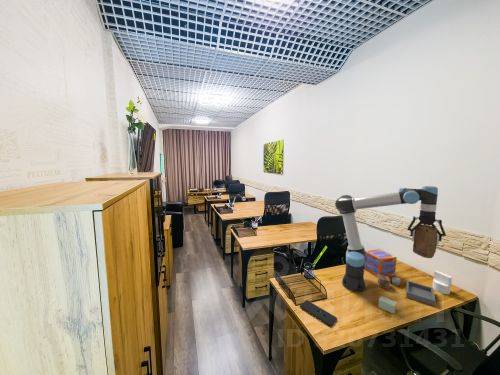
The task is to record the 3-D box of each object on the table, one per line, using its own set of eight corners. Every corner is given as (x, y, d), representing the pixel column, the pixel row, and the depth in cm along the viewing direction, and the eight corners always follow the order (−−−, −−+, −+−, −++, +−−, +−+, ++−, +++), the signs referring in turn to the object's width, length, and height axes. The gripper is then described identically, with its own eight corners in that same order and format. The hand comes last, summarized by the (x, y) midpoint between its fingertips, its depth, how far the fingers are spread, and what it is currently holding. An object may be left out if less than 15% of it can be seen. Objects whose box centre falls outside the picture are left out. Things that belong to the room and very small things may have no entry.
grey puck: (393, 285, 144) (393, 280, 144) (390, 281, 149) (391, 276, 148) (401, 286, 143) (401, 281, 142) (398, 282, 148) (398, 277, 147)
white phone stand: (453, 292, 136) (455, 276, 135) (444, 295, 133) (446, 278, 132) (437, 285, 145) (439, 269, 143) (429, 287, 142) (431, 271, 140)
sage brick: (378, 307, 123) (378, 299, 122) (380, 303, 126) (381, 295, 126) (393, 314, 117) (394, 306, 116) (395, 309, 120) (396, 302, 120)
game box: (379, 278, 152) (381, 259, 151) (363, 268, 167) (364, 250, 166) (395, 275, 157) (397, 257, 155) (377, 266, 171) (379, 248, 170)
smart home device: (330, 325, 107) (299, 305, 122) (330, 328, 107) (299, 308, 122) (337, 317, 112) (306, 299, 127) (337, 320, 113) (306, 302, 127)
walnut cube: (379, 286, 143) (380, 279, 142) (377, 282, 148) (378, 274, 147) (389, 288, 140) (390, 281, 140) (387, 284, 146) (388, 276, 145)
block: (436, 258, 126) (440, 227, 123) (427, 259, 124) (431, 228, 121) (418, 251, 136) (421, 222, 134) (409, 252, 134) (412, 223, 132)
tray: (406, 296, 132) (406, 291, 131) (406, 284, 145) (406, 280, 145) (434, 306, 123) (435, 301, 123) (432, 292, 136) (432, 287, 136)
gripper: (404, 208, 131) (401, 240, 134) (455, 214, 116) (451, 250, 119) (404, 206, 137) (402, 237, 139) (453, 212, 122) (449, 246, 124)
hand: (424, 243), depth 129 cm, fingers closed on block, 11 cm apart
